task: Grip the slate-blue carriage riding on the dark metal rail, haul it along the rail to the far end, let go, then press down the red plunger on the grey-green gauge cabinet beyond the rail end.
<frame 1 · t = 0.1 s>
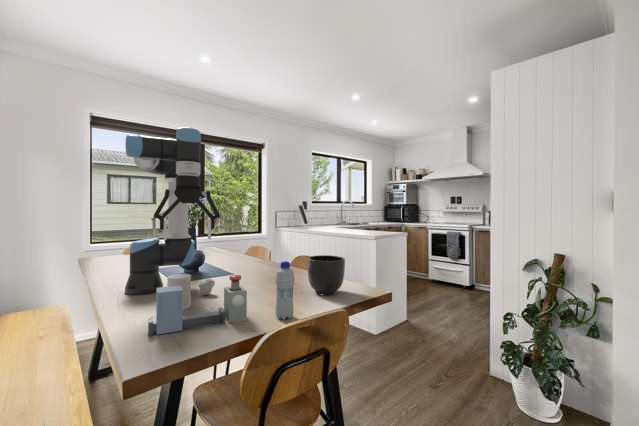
hand: (187, 239, 103), 28 cm above the table, fingers open, 13 cm apart
gauge cabinet: (234, 317, 108), on the table
carriage: (169, 308, 96), point 7 cm above the table, slide at 0.0 cm
plunger: (235, 287, 108), point 11 cm above the table, slide at 0.0 cm
planter: (325, 293, 141), on the table
cup: (179, 307, 118), on the table
frog figurine: (206, 295, 135), on the table
rail: (188, 326, 99), on the table
bottle: (284, 318, 109), on the table
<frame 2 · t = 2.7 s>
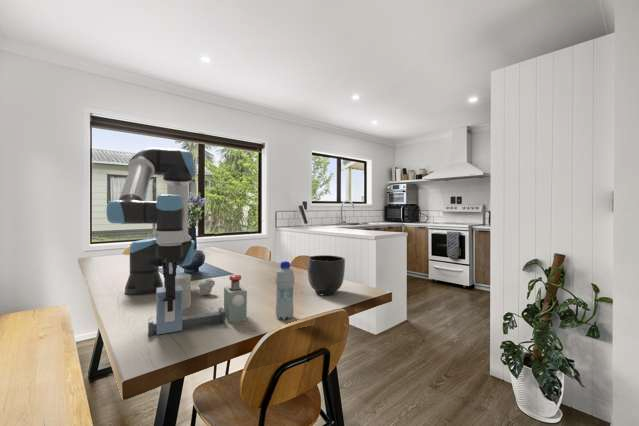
hand: (169, 317, 96), 4 cm above the table, fingers closed on carriage, 6 cm apart
carriage: (169, 308, 96), point 7 cm above the table, slide at 0.0 cm, touching gripper
everything else where it was.
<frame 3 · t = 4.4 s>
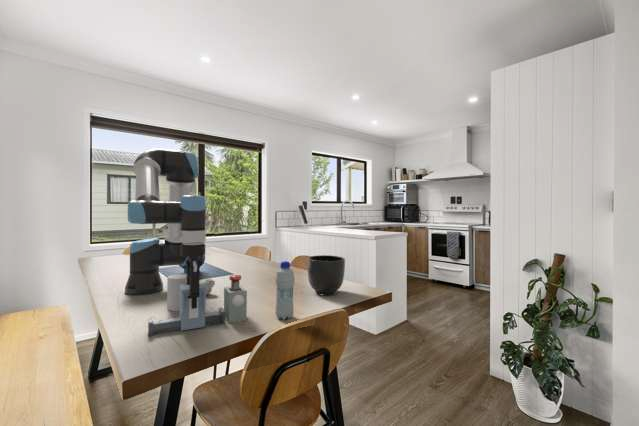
hand: (192, 314, 100), 4 cm above the table, fingers closed on carriage, 6 cm apart
carriage: (192, 305, 100), point 7 cm above the table, slide at 6.7 cm, touching gripper
everything else where it was.
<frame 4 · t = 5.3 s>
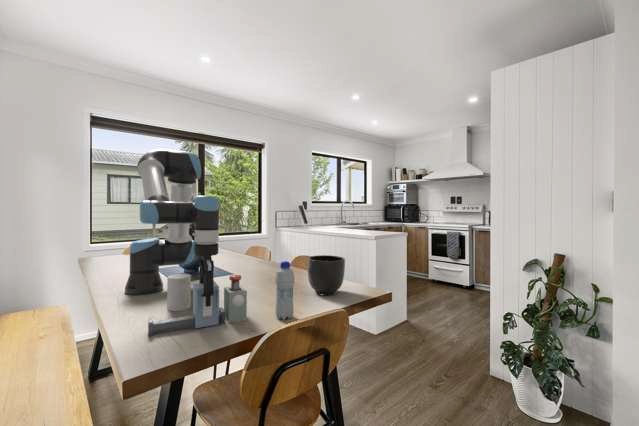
hand: (205, 312, 102), 4 cm above the table, fingers closed on carriage, 6 cm apart
carriage: (205, 304, 102), point 7 cm above the table, slide at 10.9 cm, touching gripper
everything else where it was.
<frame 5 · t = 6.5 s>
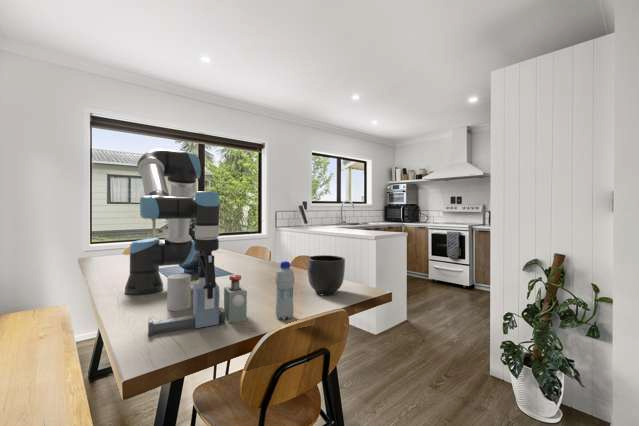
hand: (205, 302, 102), 7 cm above the table, fingers open, 13 cm apart
carriage: (205, 304, 102), point 7 cm above the table, slide at 10.9 cm
everything else where it was.
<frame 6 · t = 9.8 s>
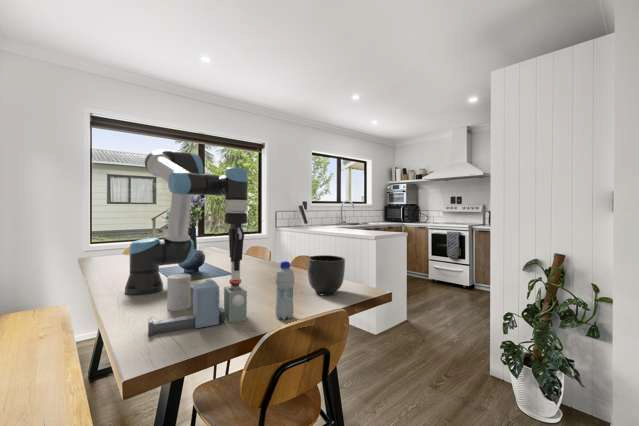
hand: (235, 279, 108), 13 cm above the table, fingers closed
plunger: (235, 291, 108), point 9 cm above the table, slide at 1.3 cm, touching gripper
everything else where it was.
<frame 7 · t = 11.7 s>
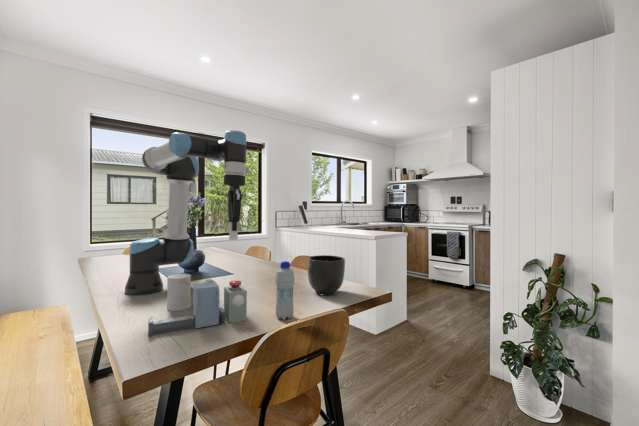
hand: (233, 239, 112), 27 cm above the table, fingers closed
plunger: (235, 293, 108), point 9 cm above the table, slide at 2.0 cm
everything else where it was.
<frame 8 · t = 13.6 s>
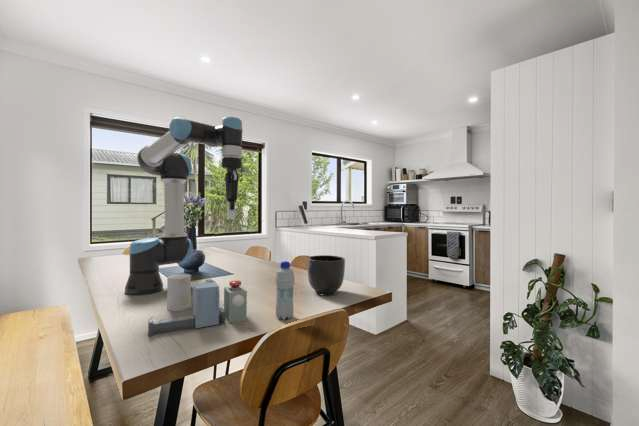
hand: (231, 218, 121), 34 cm above the table, fingers closed
nothing on the table moved.
at the end: carriage slide at 10.9 cm; plunger slide at 2.0 cm; the gripper is holding nothing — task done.
